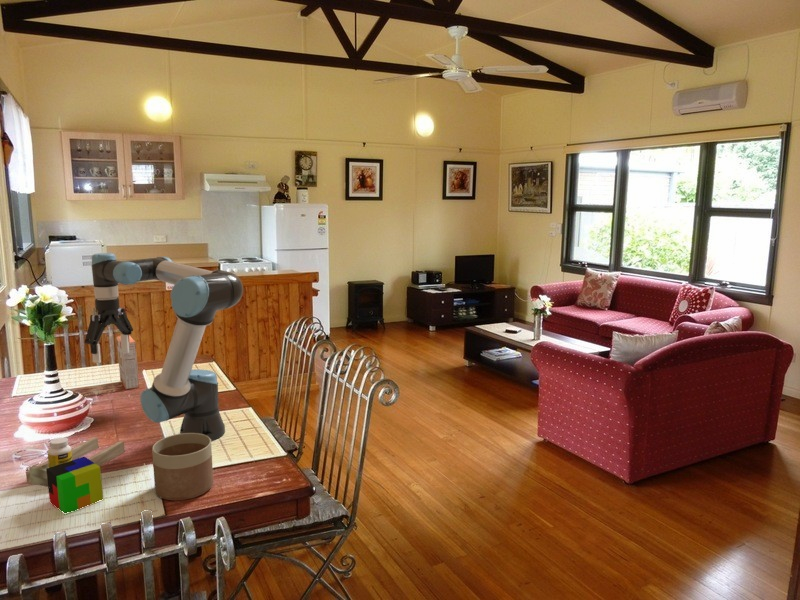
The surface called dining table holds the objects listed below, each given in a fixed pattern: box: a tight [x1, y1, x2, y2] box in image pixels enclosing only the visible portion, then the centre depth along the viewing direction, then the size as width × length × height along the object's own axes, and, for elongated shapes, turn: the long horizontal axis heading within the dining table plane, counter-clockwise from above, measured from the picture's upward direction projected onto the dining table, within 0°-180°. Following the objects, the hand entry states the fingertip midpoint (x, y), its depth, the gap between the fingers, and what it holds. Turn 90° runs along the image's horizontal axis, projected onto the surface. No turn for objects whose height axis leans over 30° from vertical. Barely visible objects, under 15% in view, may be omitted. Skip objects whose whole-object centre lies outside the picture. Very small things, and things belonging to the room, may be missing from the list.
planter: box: [151, 433, 214, 501], centre depth 170 cm, size 16×16×14 cm
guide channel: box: [25, 436, 125, 488], centre depth 184 cm, size 12×26×5 cm, turn 164°
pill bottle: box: [47, 437, 72, 468], centre depth 178 cm, size 6×6×11 cm
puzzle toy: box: [46, 456, 104, 513], centre depth 163 cm, size 10×10×10 cm
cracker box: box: [116, 334, 140, 391], centre depth 260 cm, size 14×6×21 cm, turn 33°
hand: (111, 357), depth 209 cm, fingers open, 13 cm apart
